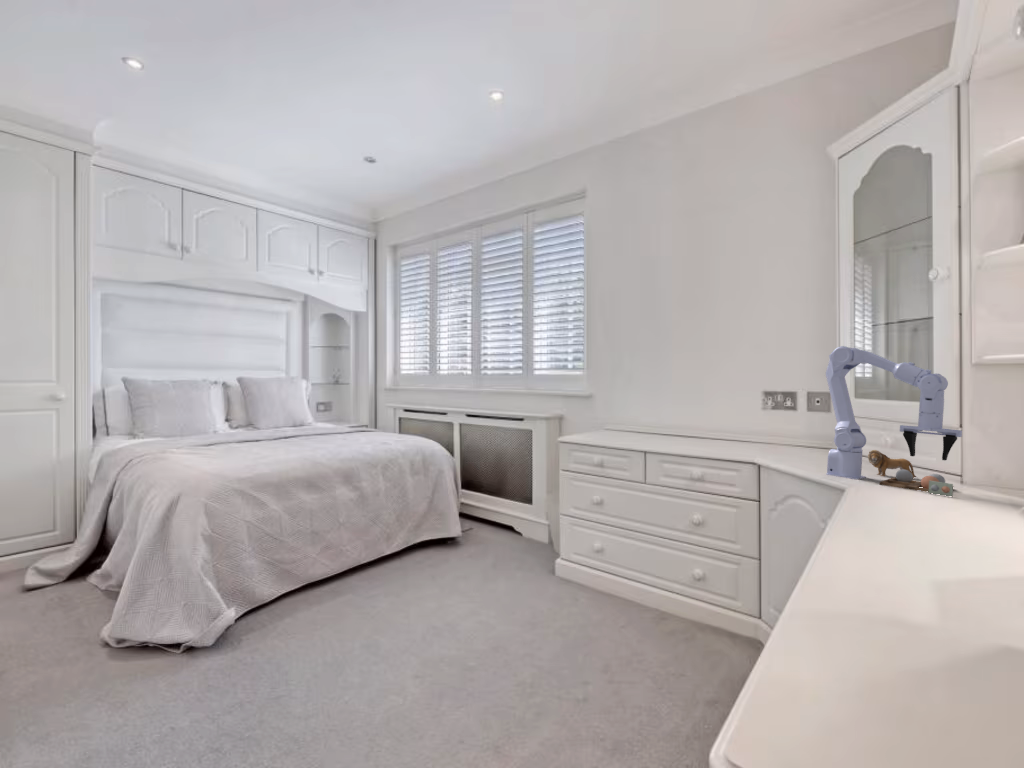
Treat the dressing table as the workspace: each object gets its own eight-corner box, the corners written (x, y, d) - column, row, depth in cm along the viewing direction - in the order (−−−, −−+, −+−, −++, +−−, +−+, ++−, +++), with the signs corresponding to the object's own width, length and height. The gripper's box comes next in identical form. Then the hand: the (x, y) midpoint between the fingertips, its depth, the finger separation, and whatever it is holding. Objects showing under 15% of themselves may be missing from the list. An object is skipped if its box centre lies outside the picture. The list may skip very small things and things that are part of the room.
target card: (928, 494, 148) (929, 480, 148) (928, 494, 149) (929, 480, 148) (951, 498, 144) (952, 484, 144) (952, 498, 145) (952, 483, 144)
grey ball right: (924, 487, 158) (925, 473, 158) (928, 486, 160) (929, 472, 160) (943, 490, 154) (944, 475, 154) (946, 488, 157) (947, 474, 157)
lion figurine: (870, 476, 176) (871, 450, 176) (864, 473, 181) (865, 448, 181) (920, 480, 172) (922, 454, 172) (913, 478, 177) (914, 452, 177)
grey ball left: (893, 482, 164) (894, 468, 164) (897, 481, 167) (898, 467, 167) (910, 485, 160) (911, 471, 160) (914, 483, 163) (915, 470, 163)
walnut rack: (879, 485, 159) (879, 481, 159) (893, 480, 169) (893, 477, 169) (942, 495, 148) (943, 491, 148) (953, 490, 157) (954, 486, 157)
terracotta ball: (918, 490, 153) (919, 475, 153) (922, 488, 156) (923, 474, 156) (937, 492, 150) (938, 477, 150) (941, 491, 152) (941, 476, 152)
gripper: (897, 411, 157) (895, 455, 158) (959, 415, 146) (956, 462, 146) (904, 411, 162) (901, 453, 162) (964, 415, 151) (961, 461, 151)
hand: (928, 458), depth 155 cm, fingers open, 7 cm apart
